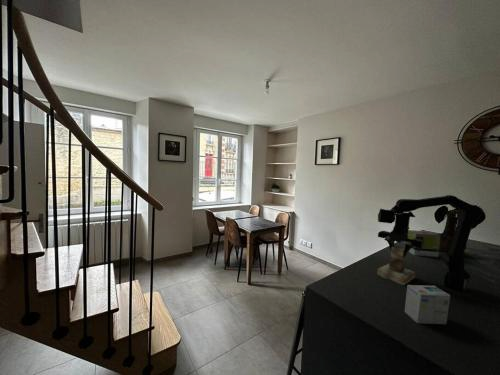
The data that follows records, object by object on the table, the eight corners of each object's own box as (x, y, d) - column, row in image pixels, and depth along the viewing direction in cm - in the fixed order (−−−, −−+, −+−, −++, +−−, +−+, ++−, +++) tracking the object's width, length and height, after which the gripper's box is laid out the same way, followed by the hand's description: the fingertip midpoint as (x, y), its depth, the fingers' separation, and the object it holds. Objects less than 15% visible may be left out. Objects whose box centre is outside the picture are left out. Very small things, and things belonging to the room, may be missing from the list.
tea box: (427, 252, 152) (430, 231, 150) (438, 257, 142) (441, 235, 140) (404, 249, 153) (407, 229, 152) (413, 255, 143) (416, 233, 142)
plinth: (414, 277, 110) (415, 271, 110) (404, 285, 102) (405, 278, 102) (388, 268, 120) (388, 262, 120) (376, 274, 111) (377, 268, 111)
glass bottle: (469, 254, 151) (475, 214, 149) (458, 258, 142) (464, 216, 140) (437, 246, 166) (442, 209, 164) (426, 249, 158) (431, 210, 155)
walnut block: (403, 270, 110) (405, 261, 110) (400, 273, 107) (401, 263, 107) (392, 267, 114) (393, 257, 114) (388, 269, 111) (389, 259, 111)
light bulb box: (430, 312, 82) (434, 284, 82) (447, 325, 76) (451, 295, 75) (403, 311, 82) (406, 283, 81) (417, 324, 75) (421, 294, 74)
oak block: (405, 258, 110) (406, 248, 109) (401, 260, 107) (403, 250, 106) (394, 254, 114) (395, 245, 113) (390, 256, 110) (391, 246, 110)
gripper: (374, 222, 111) (371, 252, 112) (419, 231, 96) (415, 265, 98) (383, 220, 118) (380, 248, 119) (427, 228, 103) (423, 260, 104)
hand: (398, 255), depth 110 cm, fingers closed on oak block, 5 cm apart
